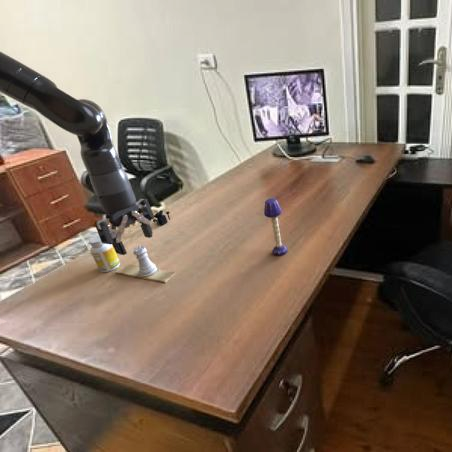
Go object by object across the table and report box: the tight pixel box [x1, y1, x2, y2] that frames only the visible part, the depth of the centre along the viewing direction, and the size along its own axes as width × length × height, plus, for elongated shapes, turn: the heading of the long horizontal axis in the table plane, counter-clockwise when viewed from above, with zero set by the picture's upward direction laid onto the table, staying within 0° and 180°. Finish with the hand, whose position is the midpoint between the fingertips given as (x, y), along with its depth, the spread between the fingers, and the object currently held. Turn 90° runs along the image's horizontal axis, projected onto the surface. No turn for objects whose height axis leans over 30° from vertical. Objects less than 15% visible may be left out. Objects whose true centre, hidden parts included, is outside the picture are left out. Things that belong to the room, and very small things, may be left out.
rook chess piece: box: [132, 245, 158, 277], centre depth 94 cm, size 4×4×8 cm
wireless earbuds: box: [152, 209, 171, 227], centre depth 122 cm, size 7×2×5 cm, turn 156°
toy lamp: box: [263, 198, 288, 257], centre depth 96 cm, size 5×5×17 cm
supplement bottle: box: [88, 235, 121, 273], centre depth 99 cm, size 5×5×10 cm
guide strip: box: [115, 263, 177, 284], centre depth 97 cm, size 18×4×1 cm, turn 70°
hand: (136, 245), depth 91 cm, fingers open, 8 cm apart
